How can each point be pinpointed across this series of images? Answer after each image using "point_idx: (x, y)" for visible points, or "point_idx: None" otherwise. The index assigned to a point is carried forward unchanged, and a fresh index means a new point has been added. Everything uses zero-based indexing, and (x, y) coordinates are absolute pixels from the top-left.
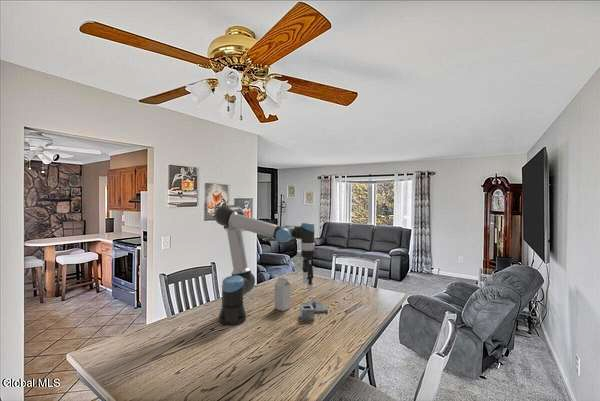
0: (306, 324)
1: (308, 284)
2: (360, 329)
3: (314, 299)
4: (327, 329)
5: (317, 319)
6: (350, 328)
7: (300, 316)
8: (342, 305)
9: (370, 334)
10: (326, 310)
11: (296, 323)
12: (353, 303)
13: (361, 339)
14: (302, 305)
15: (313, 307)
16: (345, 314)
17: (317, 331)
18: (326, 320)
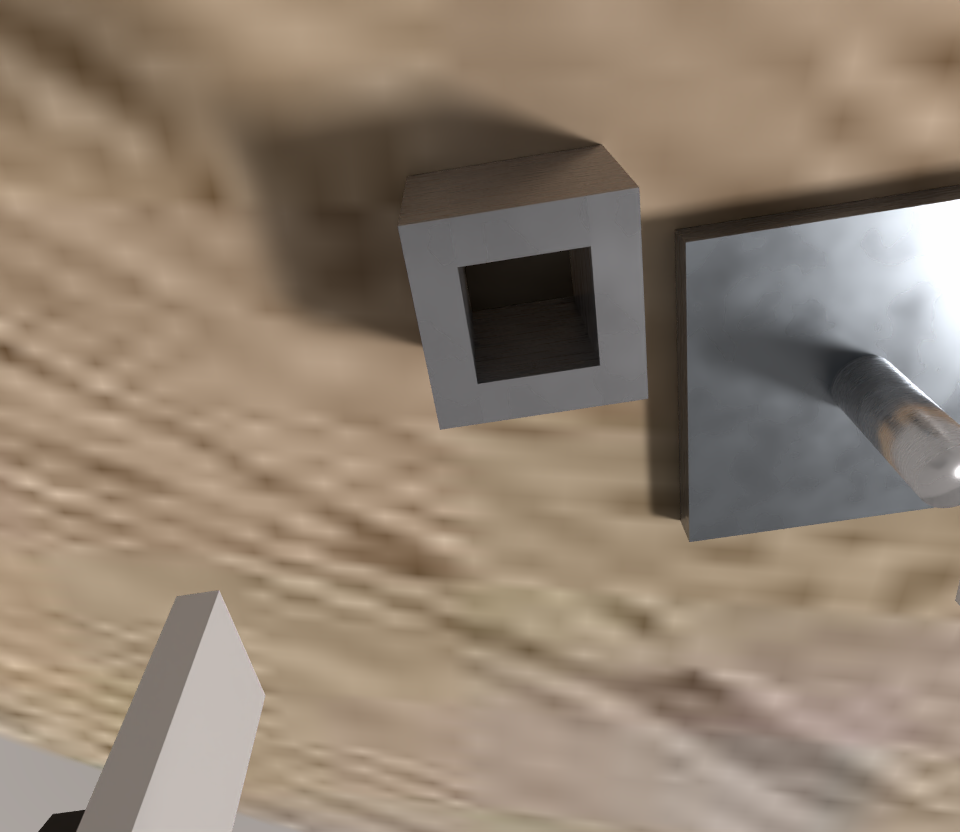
0: (279, 242)
1: (112, 793)
2: None
3: (890, 450)
4: (176, 484)
5: None
6: None
7: (548, 155)
8: (867, 671)
9: None
10: (687, 523)
11: (293, 83)
12: (894, 760)
13: (33, 722)
14: (632, 236)
15: (816, 373)
16: (602, 672)
17: (90, 375)
18: (432, 490)
